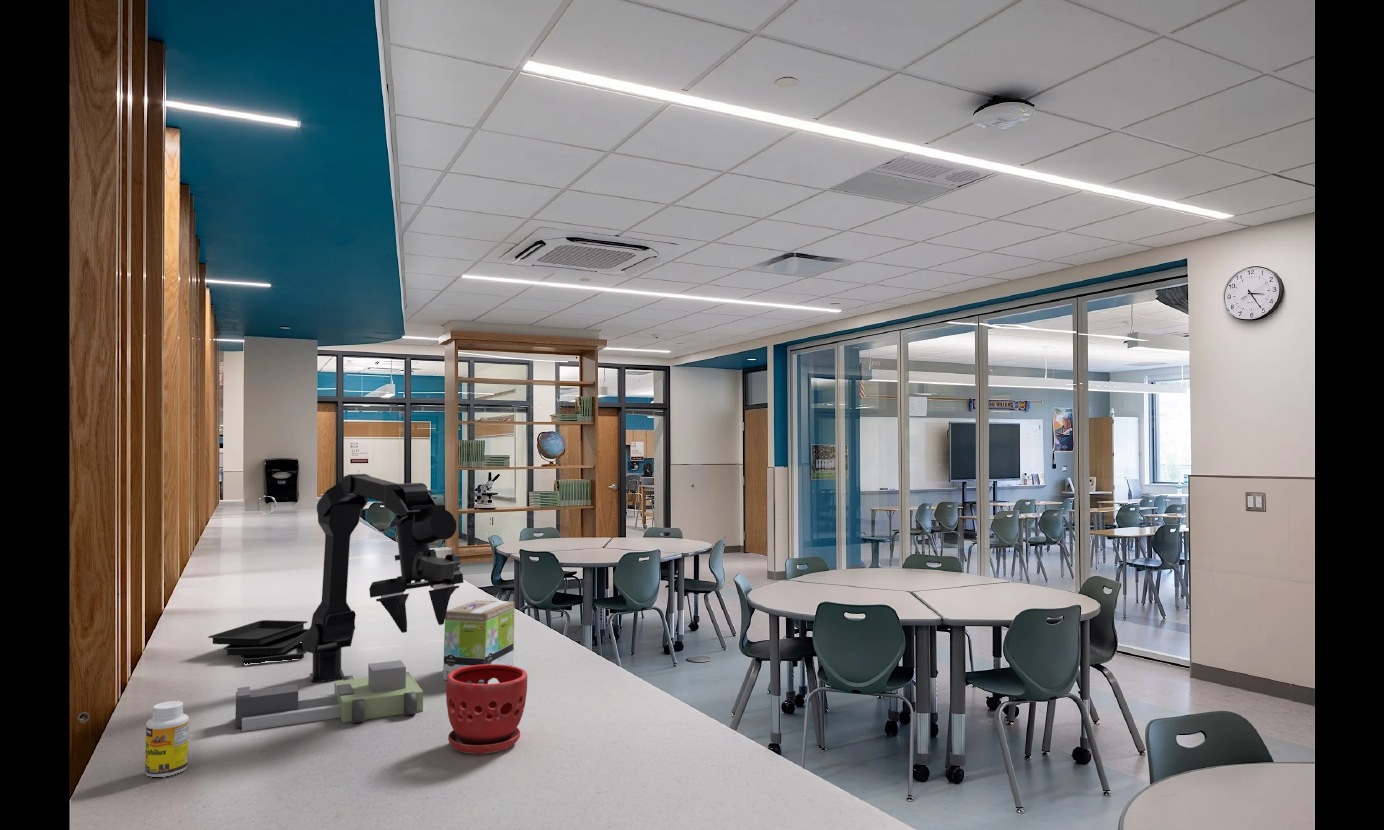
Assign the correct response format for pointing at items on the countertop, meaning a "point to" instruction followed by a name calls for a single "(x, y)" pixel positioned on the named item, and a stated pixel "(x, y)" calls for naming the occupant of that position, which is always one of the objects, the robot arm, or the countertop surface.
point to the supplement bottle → (167, 740)
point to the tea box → (479, 635)
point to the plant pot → (485, 707)
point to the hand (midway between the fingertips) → (423, 628)
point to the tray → (263, 640)
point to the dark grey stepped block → (265, 701)
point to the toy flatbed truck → (353, 699)
